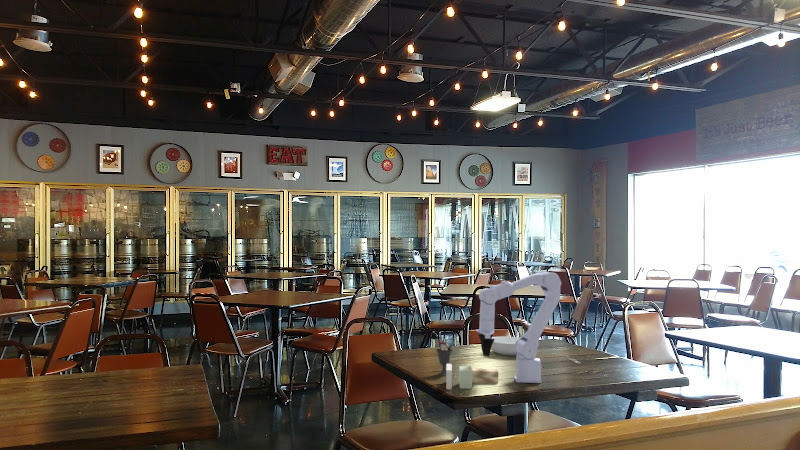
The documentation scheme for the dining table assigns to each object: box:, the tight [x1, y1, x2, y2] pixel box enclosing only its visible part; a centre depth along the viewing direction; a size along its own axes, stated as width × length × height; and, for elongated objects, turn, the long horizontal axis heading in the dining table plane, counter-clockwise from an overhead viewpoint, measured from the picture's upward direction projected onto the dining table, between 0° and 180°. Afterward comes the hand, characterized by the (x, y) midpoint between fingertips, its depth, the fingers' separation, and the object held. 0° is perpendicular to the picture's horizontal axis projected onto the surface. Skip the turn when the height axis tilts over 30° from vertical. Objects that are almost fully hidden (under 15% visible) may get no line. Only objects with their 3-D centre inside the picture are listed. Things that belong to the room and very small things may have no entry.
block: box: [458, 365, 473, 390], centre depth 217 cm, size 4×8×6 cm, turn 175°
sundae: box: [436, 336, 453, 376], centre depth 236 cm, size 7×7×15 cm
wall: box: [445, 363, 453, 390], centre depth 218 cm, size 2×11×7 cm, turn 175°
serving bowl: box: [491, 336, 521, 357], centre depth 278 cm, size 21×21×7 cm
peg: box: [472, 368, 499, 384], centre depth 225 cm, size 12×4×5 cm, turn 84°
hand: (485, 354), depth 225 cm, fingers open, 7 cm apart
